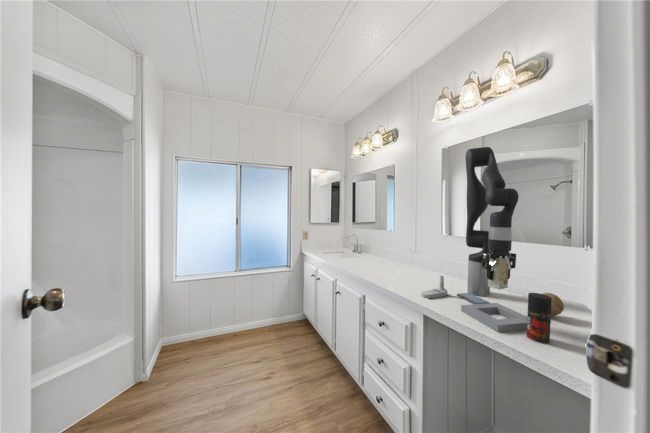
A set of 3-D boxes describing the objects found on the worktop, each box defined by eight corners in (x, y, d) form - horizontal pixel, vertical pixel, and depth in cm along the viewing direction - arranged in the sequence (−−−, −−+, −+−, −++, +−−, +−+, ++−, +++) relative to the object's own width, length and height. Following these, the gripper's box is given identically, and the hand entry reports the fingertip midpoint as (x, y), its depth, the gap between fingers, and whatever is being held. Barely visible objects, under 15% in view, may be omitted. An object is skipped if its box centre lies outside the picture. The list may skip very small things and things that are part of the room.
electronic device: (418, 277, 122) (441, 274, 127) (418, 296, 123) (441, 292, 128) (426, 280, 117) (449, 277, 122) (426, 300, 118) (449, 296, 123)
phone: (468, 294, 124) (469, 292, 124) (490, 305, 111) (490, 302, 111) (456, 295, 123) (457, 293, 123) (477, 305, 110) (477, 303, 110)
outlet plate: (496, 308, 108) (496, 302, 108) (538, 328, 90) (538, 321, 90) (461, 310, 105) (461, 305, 104) (497, 332, 87) (497, 325, 87)
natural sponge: (566, 324, 93) (568, 299, 93) (536, 318, 98) (537, 294, 98) (559, 315, 101) (560, 292, 101) (532, 310, 106) (533, 288, 105)
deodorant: (522, 334, 85) (523, 292, 85) (537, 333, 86) (539, 292, 85) (538, 343, 80) (540, 299, 79) (554, 343, 80) (556, 298, 80)
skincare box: (499, 290, 94) (500, 259, 93) (487, 286, 97) (488, 256, 97) (508, 287, 97) (509, 257, 96) (496, 284, 100) (497, 255, 100)
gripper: (506, 237, 101) (504, 275, 102) (476, 237, 99) (475, 277, 99) (524, 239, 94) (522, 281, 94) (492, 239, 91) (490, 282, 92)
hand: (498, 279), depth 97 cm, fingers closed on skincare box, 7 cm apart
